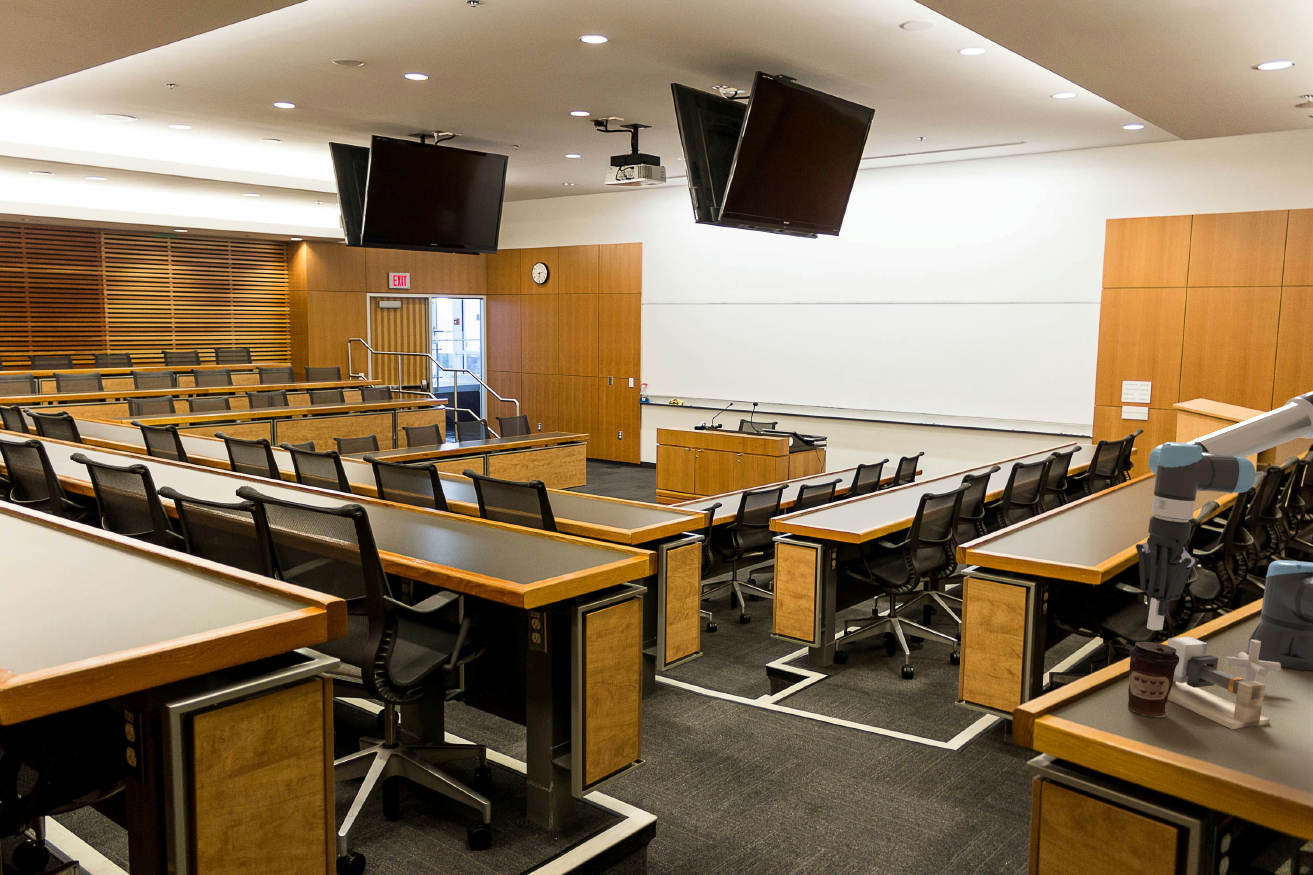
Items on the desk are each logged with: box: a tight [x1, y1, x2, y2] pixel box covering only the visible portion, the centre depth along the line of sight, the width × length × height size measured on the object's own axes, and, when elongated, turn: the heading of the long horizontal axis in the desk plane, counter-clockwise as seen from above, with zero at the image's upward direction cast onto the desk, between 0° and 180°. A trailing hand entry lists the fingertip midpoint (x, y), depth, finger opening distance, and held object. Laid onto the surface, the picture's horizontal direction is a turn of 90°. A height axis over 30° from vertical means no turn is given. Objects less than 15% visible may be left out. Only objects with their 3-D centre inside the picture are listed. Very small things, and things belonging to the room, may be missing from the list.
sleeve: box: [1166, 636, 1208, 683], centre depth 186 cm, size 6×4×8 cm, turn 111°
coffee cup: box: [1127, 641, 1180, 718], centre depth 176 cm, size 9×8×13 cm
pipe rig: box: [1167, 660, 1271, 730], centre depth 182 cm, size 10×20×8 cm, turn 21°
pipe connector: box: [1224, 640, 1282, 682], centre depth 194 cm, size 10×10×10 cm
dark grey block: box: [1187, 655, 1219, 688], centre depth 182 cm, size 6×2×6 cm, turn 111°
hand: (1154, 628), depth 192 cm, fingers closed
